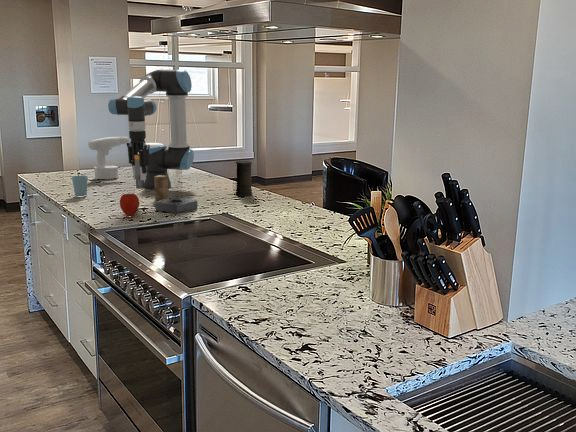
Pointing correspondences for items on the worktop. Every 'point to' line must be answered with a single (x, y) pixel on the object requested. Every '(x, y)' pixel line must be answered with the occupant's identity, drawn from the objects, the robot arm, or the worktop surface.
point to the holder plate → (176, 205)
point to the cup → (80, 185)
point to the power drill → (102, 150)
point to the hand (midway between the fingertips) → (139, 179)
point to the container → (244, 178)
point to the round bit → (138, 172)
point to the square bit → (161, 187)
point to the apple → (129, 204)
